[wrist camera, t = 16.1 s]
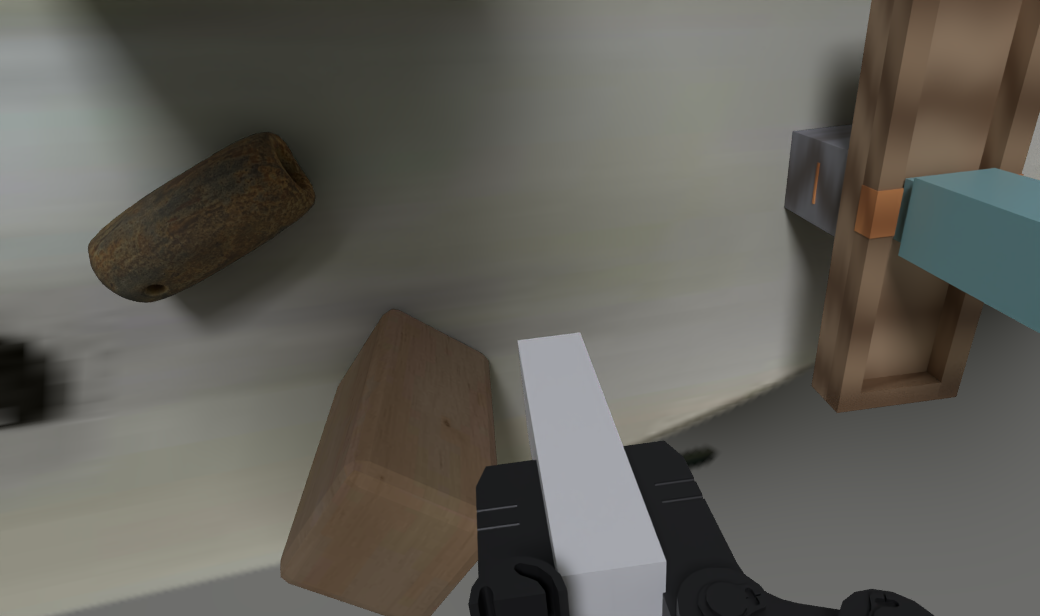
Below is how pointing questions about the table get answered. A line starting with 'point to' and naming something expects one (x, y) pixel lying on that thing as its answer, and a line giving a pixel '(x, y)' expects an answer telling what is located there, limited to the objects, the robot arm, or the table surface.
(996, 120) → the beam
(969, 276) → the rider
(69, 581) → the table surface
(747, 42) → the table surface
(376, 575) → the wooden block
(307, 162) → the table surface
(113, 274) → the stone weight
